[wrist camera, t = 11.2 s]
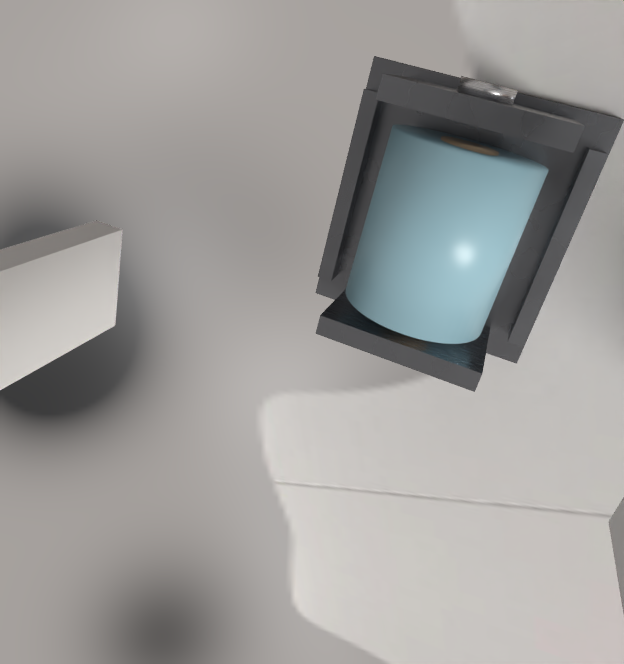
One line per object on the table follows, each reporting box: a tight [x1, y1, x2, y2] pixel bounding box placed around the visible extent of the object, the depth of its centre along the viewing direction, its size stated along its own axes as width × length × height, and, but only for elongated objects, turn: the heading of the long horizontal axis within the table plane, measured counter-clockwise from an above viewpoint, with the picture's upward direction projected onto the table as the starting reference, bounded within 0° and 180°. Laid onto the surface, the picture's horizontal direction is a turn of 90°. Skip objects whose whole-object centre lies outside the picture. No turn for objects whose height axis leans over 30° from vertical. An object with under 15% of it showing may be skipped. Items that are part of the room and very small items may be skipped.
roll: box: [346, 125, 549, 344], centre depth 27 cm, size 8×7×7 cm
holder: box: [316, 56, 624, 392], centre depth 28 cm, size 13×12×7 cm
